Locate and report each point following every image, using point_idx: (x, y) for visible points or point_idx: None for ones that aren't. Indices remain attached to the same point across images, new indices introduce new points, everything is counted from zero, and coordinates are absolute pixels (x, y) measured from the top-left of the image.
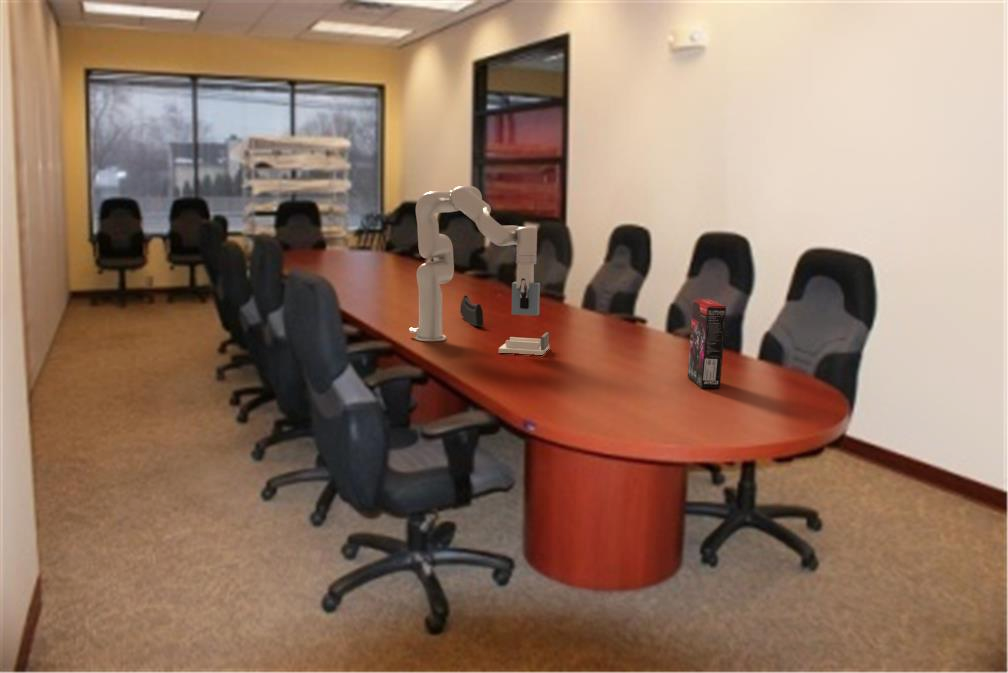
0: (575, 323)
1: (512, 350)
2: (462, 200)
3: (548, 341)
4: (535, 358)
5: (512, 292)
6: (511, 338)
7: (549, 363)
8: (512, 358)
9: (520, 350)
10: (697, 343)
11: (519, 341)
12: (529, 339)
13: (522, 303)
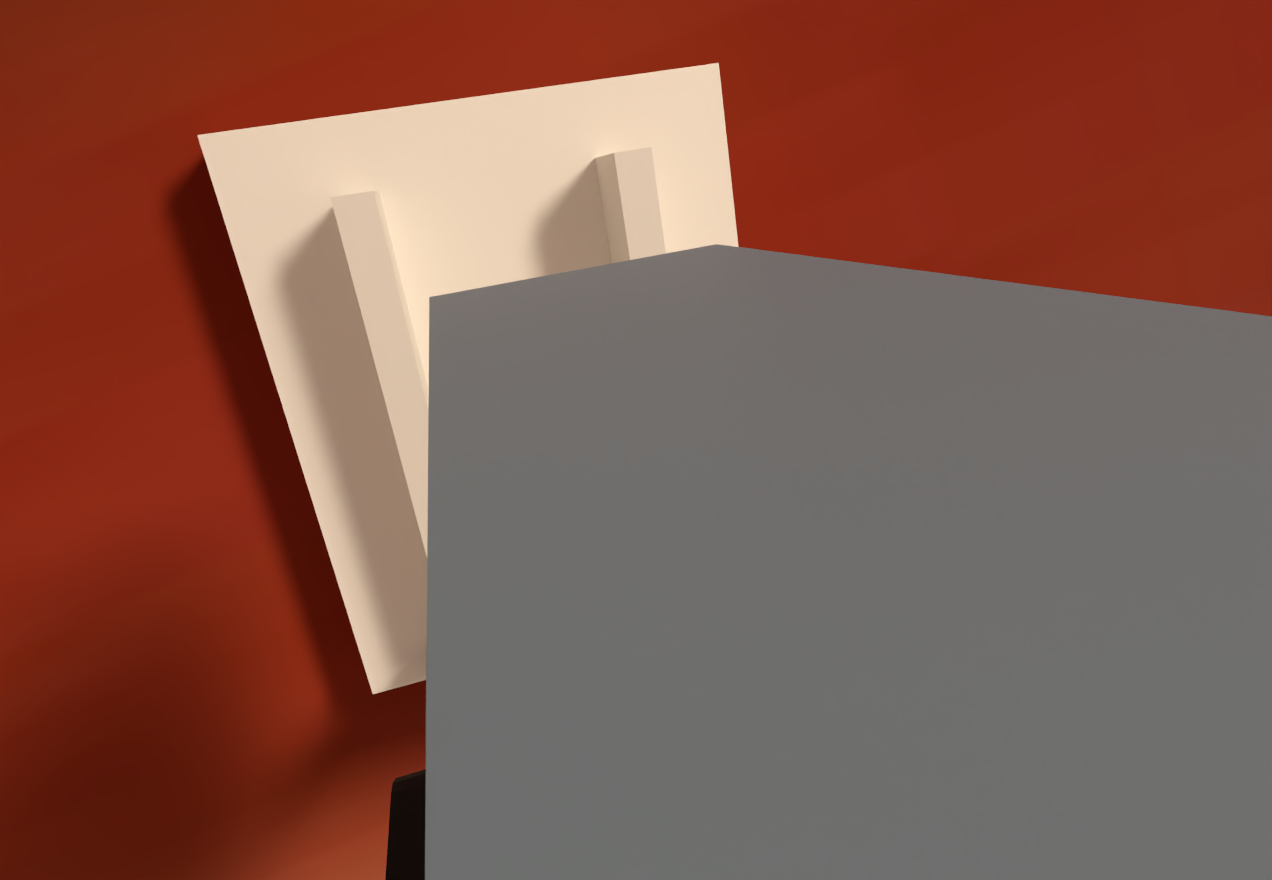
0: None
1: (265, 339)
2: None
3: None
4: (221, 649)
5: (452, 647)
6: (615, 180)
7: (61, 870)
8: (33, 434)
9: (296, 443)
10: None
11: (398, 405)
12: None
13: (393, 865)
